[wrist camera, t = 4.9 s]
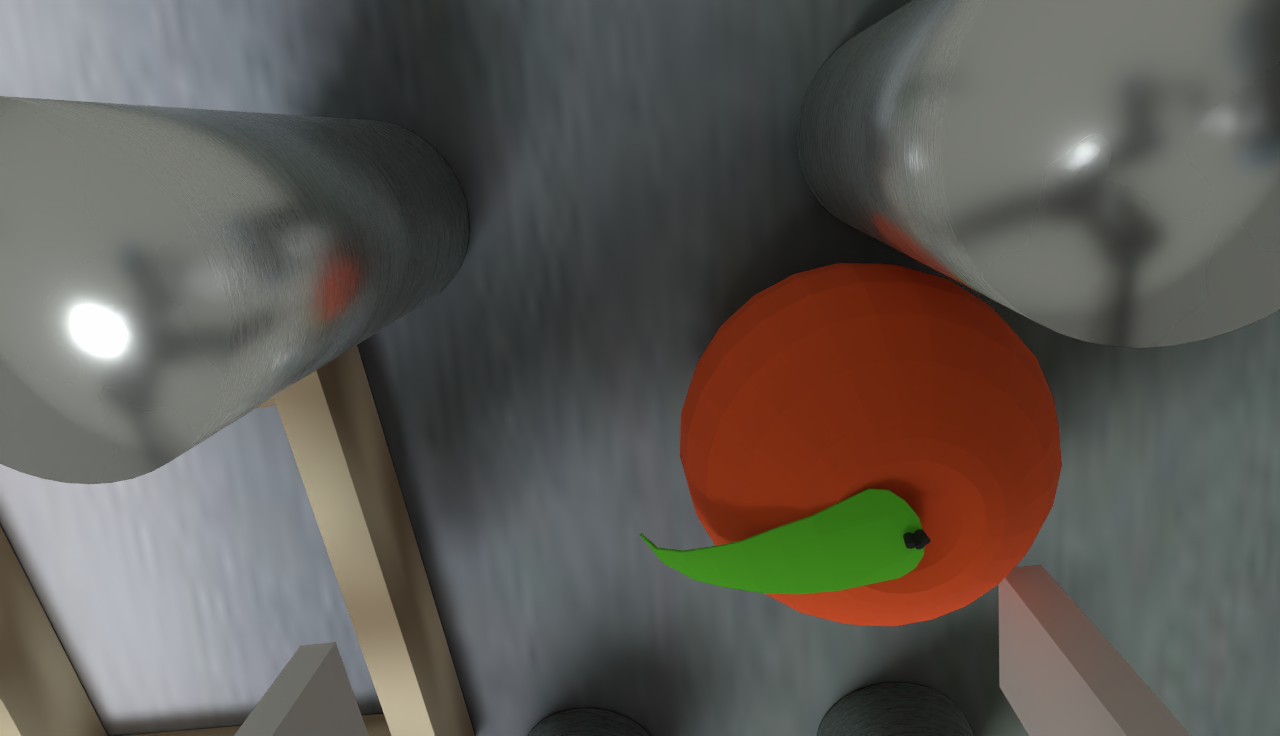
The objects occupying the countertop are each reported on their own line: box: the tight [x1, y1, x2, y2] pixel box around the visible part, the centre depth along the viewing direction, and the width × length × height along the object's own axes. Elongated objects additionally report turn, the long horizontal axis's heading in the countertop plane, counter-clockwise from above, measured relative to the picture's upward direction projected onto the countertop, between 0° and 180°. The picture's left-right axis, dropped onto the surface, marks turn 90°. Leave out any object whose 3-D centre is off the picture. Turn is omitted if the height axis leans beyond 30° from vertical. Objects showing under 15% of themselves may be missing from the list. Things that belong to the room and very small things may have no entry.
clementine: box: [640, 263, 1062, 626], centre depth 14 cm, size 8×7×7 cm
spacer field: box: [0, 0, 1280, 736], centre depth 15 cm, size 24×22×9 cm
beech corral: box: [0, 345, 475, 736], centre depth 19 cm, size 13×13×2 cm
